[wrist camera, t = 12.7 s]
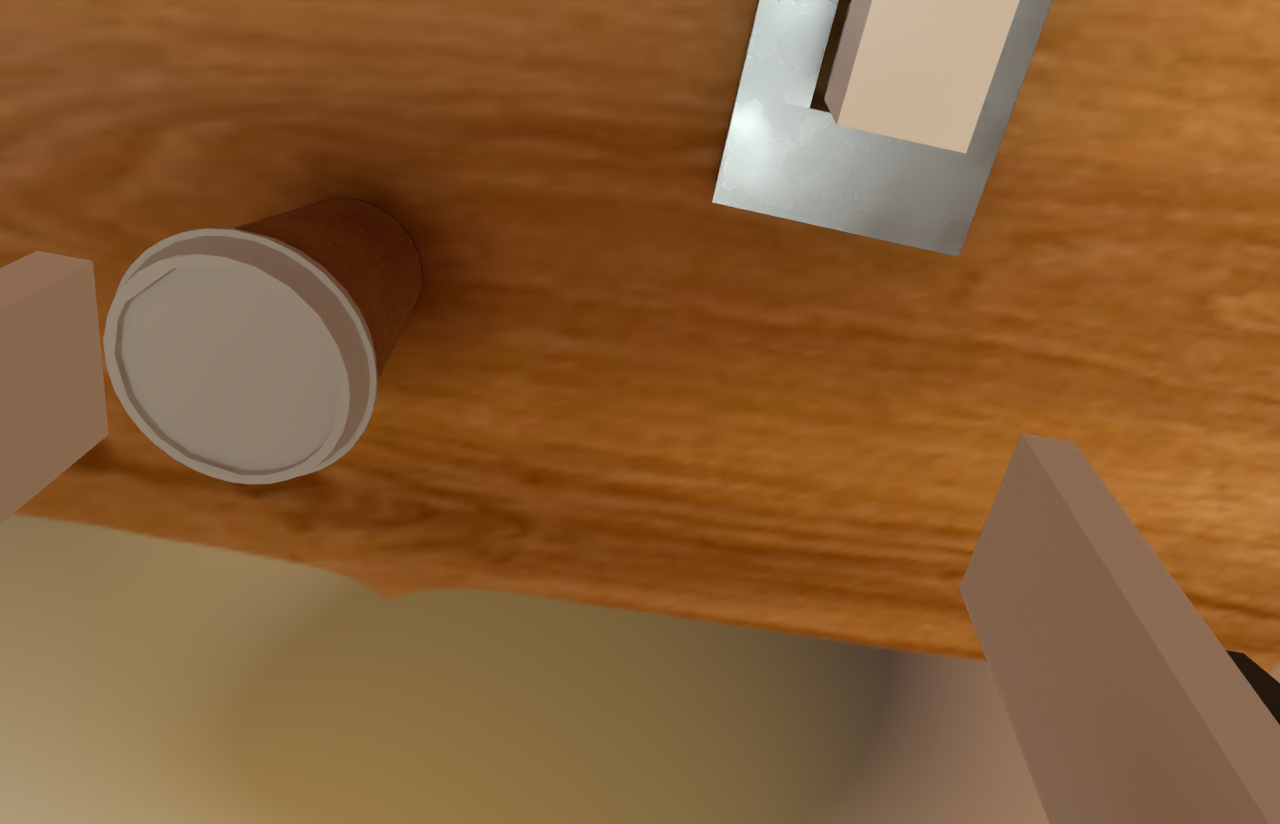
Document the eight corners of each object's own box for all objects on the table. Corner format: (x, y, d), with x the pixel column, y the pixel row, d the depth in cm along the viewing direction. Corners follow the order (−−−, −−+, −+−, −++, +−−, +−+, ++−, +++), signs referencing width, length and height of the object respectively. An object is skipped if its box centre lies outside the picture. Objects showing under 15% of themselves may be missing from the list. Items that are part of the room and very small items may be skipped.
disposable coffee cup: (441, 157, 41) (334, 236, 30) (469, 363, 45) (384, 497, 34) (228, 163, 42) (51, 242, 31) (276, 364, 46) (134, 495, 35)
